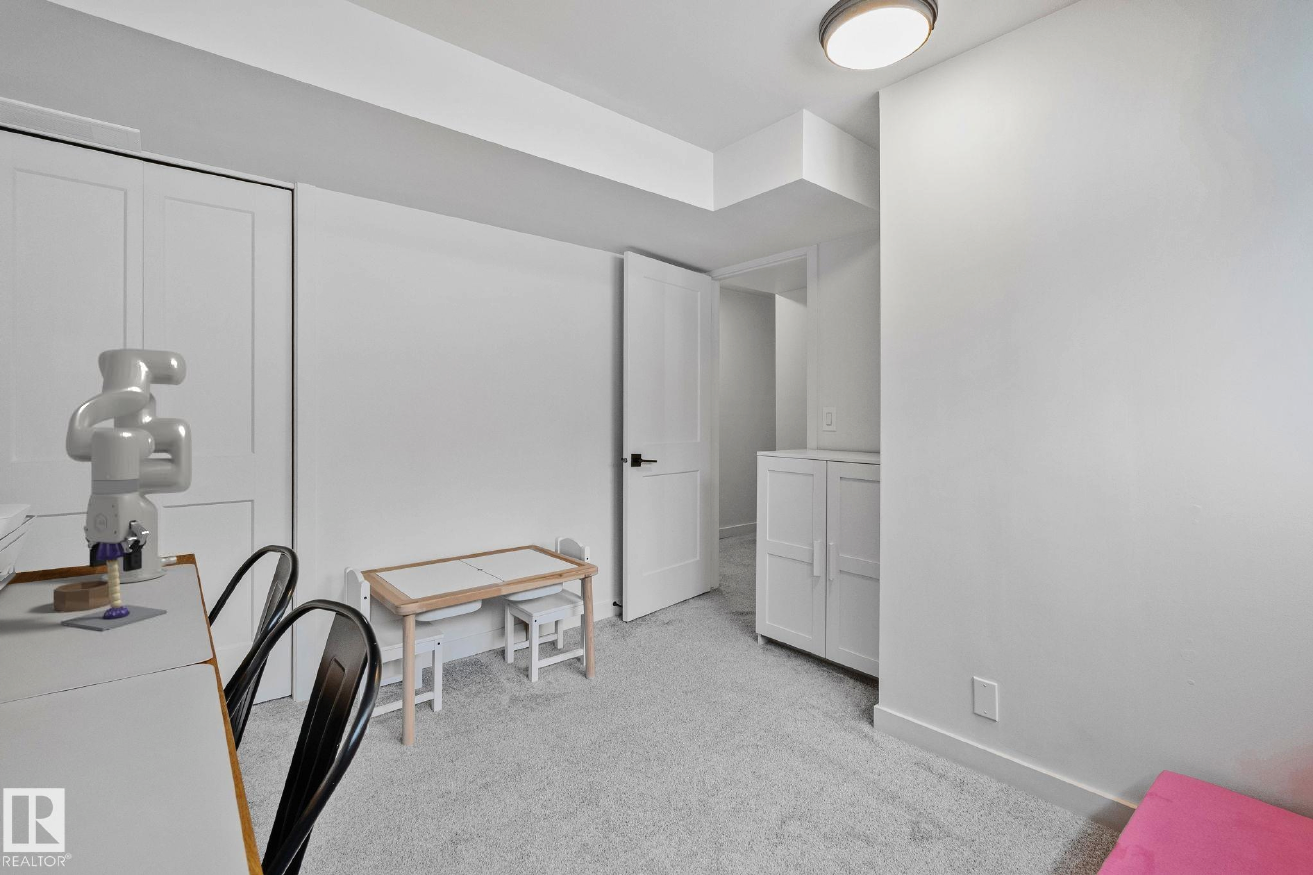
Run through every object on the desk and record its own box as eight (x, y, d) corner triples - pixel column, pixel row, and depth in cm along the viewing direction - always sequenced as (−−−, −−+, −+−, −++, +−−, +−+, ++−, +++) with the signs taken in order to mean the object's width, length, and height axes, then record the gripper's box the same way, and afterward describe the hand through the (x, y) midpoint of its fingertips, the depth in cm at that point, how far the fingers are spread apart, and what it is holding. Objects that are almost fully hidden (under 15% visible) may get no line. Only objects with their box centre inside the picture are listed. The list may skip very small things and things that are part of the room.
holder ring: (94, 597, 140) (94, 578, 140) (122, 601, 138) (122, 582, 138) (45, 609, 131) (45, 588, 131) (74, 613, 129) (74, 592, 129)
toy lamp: (114, 620, 123) (110, 540, 123) (92, 620, 124) (88, 540, 123) (135, 612, 128) (132, 535, 128) (114, 612, 128) (111, 535, 128)
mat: (126, 607, 134) (126, 604, 134) (166, 612, 131) (166, 610, 131) (61, 624, 122) (61, 621, 122) (103, 631, 119) (103, 628, 119)
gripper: (65, 487, 124) (65, 568, 125) (125, 491, 120) (125, 576, 120) (106, 484, 132) (106, 560, 132) (165, 488, 127) (164, 567, 128)
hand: (115, 568), depth 126 cm, fingers open, 9 cm apart
